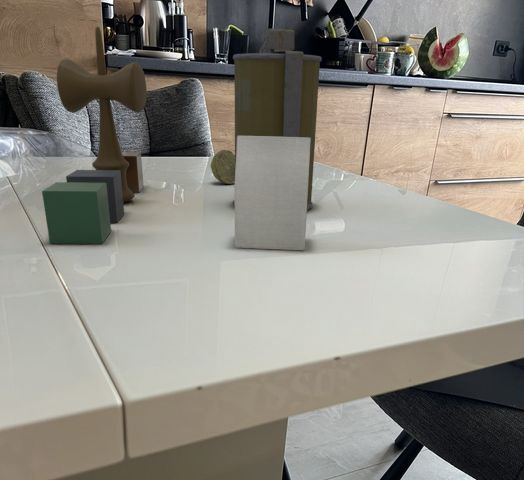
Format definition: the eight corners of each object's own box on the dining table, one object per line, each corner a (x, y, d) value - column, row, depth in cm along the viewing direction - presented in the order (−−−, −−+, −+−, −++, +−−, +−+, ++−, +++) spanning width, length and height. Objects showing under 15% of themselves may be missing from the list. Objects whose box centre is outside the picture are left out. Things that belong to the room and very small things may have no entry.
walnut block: (103, 192, 78) (100, 155, 76) (110, 186, 82) (106, 151, 80) (139, 192, 78) (136, 155, 76) (143, 186, 83) (141, 152, 81)
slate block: (72, 222, 61) (65, 176, 59) (82, 213, 65) (76, 169, 63) (117, 222, 61) (113, 176, 59) (124, 213, 66) (120, 170, 64)
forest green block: (49, 243, 53) (41, 190, 51) (62, 231, 57) (55, 182, 55) (102, 243, 53) (96, 191, 51) (111, 231, 58) (106, 182, 56)
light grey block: (304, 250, 53) (310, 139, 48) (234, 247, 53) (234, 137, 49) (305, 240, 56) (310, 136, 52) (239, 238, 56) (239, 134, 52)
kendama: (89, 195, 75) (70, 28, 67) (156, 199, 74) (146, 29, 66) (69, 204, 70) (45, 23, 61) (141, 207, 69) (127, 24, 60)
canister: (224, 199, 75) (222, 31, 66) (295, 196, 78) (303, 35, 69) (247, 216, 66) (249, 23, 57) (326, 212, 69) (340, 28, 60)
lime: (242, 181, 89) (242, 149, 87) (234, 186, 85) (234, 152, 83) (216, 180, 90) (215, 148, 88) (207, 184, 86) (206, 151, 83)
